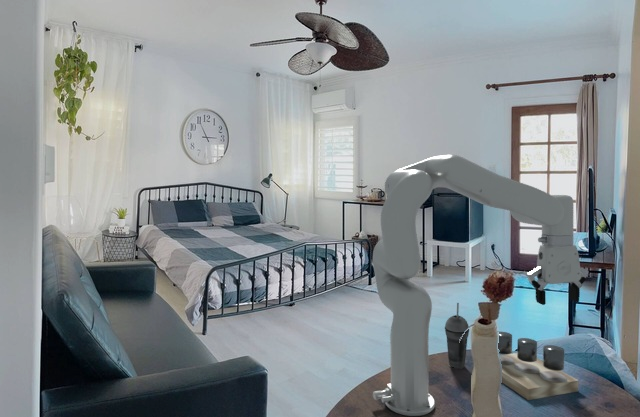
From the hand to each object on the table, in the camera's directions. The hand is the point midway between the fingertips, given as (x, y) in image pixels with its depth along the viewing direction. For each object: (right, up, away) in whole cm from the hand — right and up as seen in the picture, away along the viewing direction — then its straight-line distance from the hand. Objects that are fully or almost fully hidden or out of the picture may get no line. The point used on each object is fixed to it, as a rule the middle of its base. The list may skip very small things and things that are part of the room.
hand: (557, 302), depth 119 cm
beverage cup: (-23, -23, +14) cm, 36 cm away
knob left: (-11, -17, +10) cm, 23 cm away
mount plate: (-6, -23, +5) cm, 24 cm away
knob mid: (-6, -18, +4) cm, 19 cm away
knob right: (-2, -18, -1) cm, 18 cm away
